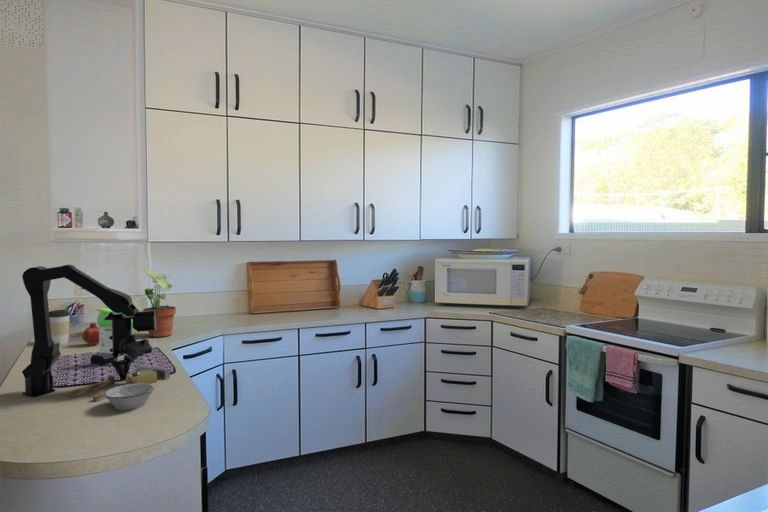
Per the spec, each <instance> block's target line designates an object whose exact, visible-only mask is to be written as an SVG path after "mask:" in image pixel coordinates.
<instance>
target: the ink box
mask: <svg viewBox="0 0 768 512" xmlns="http://www.w3.org/2000/svg"><path fill="white" fill-rule="evenodd" d="M98 328H99V343H98V351H99V352H98V353H102V352H104V353H113V352H110V349H111V348H113V347H112V340H111V339H110V338H109V336H112V331H105V329H108V328H109V329H112V327H99V326H98ZM118 355H120V354H118ZM106 366H113V365H112V364H107V365H106Z"/></svg>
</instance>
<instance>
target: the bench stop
mask: <svg viewBox="0 0 768 512" xmlns="http://www.w3.org/2000/svg"><path fill="white" fill-rule="evenodd" d="M145 370H152V371H154V372H156V373H157V379H160V380H168V379H170V376H171V371H170V368H163V367H157V366H152V365H145V364H139V365H136V366H135V372H140V371H145Z"/></svg>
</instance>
